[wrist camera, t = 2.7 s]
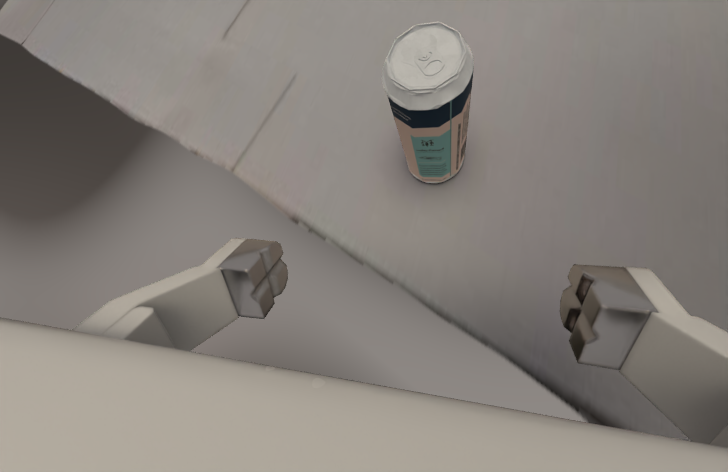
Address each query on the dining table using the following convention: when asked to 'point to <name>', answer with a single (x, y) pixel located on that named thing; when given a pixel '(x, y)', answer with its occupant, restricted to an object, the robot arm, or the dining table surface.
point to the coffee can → (430, 98)
